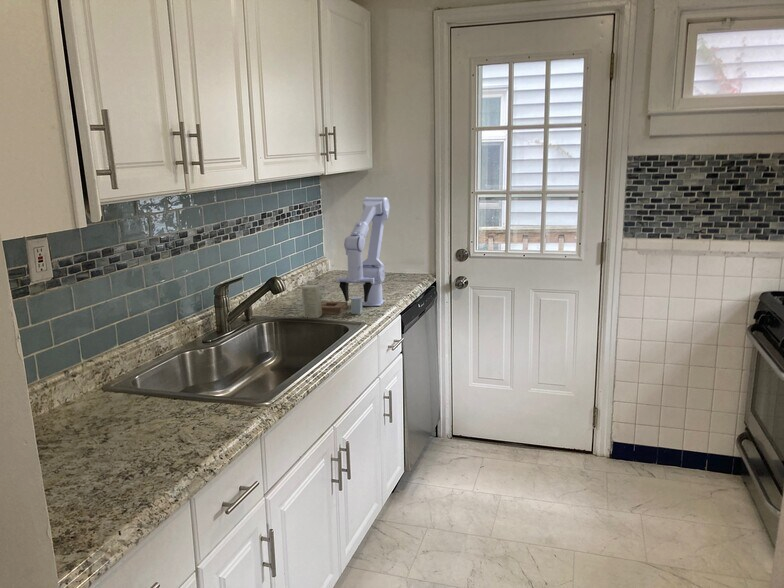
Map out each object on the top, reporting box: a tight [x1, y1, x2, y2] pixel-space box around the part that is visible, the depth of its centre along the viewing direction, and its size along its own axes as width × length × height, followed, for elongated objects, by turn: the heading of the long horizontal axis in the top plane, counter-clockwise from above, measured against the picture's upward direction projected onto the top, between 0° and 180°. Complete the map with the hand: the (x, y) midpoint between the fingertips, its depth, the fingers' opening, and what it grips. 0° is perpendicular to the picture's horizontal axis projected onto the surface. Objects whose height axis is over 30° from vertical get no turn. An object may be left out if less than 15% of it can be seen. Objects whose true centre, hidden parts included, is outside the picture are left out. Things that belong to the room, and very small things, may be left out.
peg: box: [350, 296, 363, 315], centre depth 252 cm, size 4×4×6 cm
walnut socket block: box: [321, 300, 349, 315], centre depth 257 cm, size 11×11×2 cm
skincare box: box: [300, 284, 323, 319], centre depth 247 cm, size 6×4×12 cm
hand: (356, 301), depth 251 cm, fingers open, 7 cm apart
